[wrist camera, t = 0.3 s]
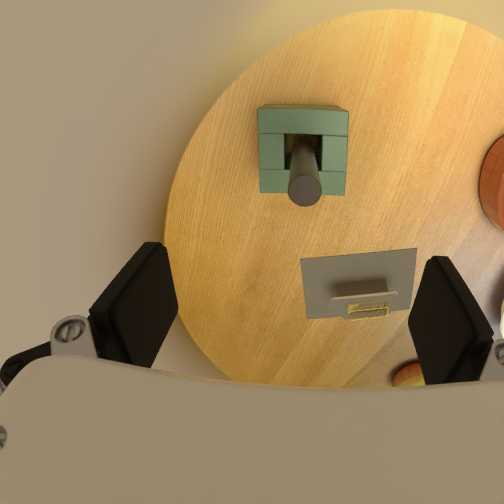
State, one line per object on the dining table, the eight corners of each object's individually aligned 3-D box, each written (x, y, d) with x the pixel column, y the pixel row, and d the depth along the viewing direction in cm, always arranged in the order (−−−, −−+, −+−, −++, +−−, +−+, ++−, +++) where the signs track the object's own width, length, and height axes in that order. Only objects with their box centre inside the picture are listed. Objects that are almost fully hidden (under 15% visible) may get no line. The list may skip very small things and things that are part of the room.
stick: (293, 130, 36) (287, 174, 19) (311, 131, 36) (322, 175, 19) (293, 147, 37) (287, 206, 20) (311, 148, 37) (320, 207, 20)
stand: (265, 104, 35) (257, 108, 28) (338, 106, 33) (349, 111, 27) (267, 172, 39) (259, 192, 32) (336, 174, 38) (344, 195, 31)
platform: (409, 308, 47) (418, 335, 41) (307, 319, 51) (306, 347, 45) (417, 248, 41) (431, 272, 36) (300, 259, 45) (299, 286, 40)
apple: (427, 349, 51) (437, 380, 44) (435, 372, 55) (443, 401, 48) (384, 368, 55) (389, 399, 48) (396, 389, 59) (401, 418, 52)
